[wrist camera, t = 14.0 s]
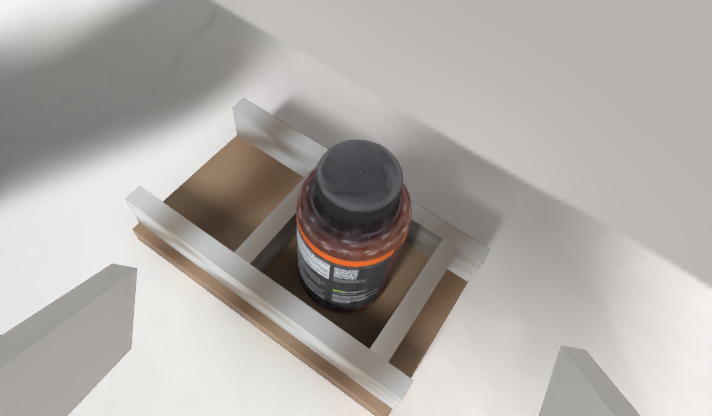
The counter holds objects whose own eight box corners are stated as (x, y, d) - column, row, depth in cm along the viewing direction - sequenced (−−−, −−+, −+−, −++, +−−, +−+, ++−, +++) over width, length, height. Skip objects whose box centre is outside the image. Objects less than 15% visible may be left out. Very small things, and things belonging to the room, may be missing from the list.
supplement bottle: (365, 220, 33) (391, 108, 24) (404, 294, 31) (451, 204, 21) (284, 248, 32) (277, 140, 22) (318, 330, 29) (326, 249, 19)
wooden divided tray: (139, 239, 32) (117, 205, 29) (254, 133, 38) (249, 93, 34) (383, 421, 28) (395, 410, 24) (472, 270, 34) (494, 242, 30)
